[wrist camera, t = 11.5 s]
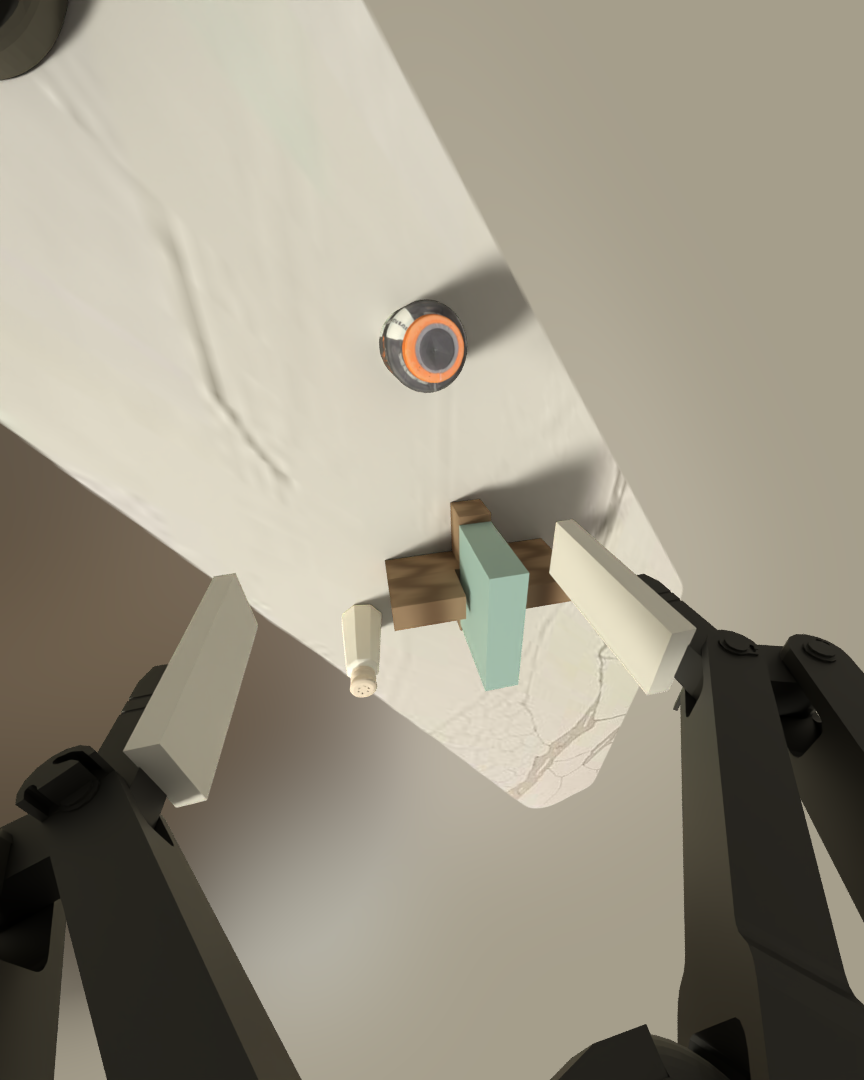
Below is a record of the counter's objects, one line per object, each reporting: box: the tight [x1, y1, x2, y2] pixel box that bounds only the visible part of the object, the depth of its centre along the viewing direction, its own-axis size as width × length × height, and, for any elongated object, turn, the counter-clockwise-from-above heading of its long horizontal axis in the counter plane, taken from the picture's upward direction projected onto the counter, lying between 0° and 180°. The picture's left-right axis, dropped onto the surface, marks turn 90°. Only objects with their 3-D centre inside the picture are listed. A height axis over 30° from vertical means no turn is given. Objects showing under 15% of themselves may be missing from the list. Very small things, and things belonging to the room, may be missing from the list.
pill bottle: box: [379, 300, 467, 393], centre depth 28 cm, size 6×6×11 cm
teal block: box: [459, 521, 529, 691], centre depth 38 cm, size 14×4×10 cm, turn 3°
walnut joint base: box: [385, 499, 571, 631], centre depth 42 cm, size 20×16×9 cm
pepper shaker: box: [342, 605, 382, 697], centre depth 42 cm, size 5×5×11 cm
